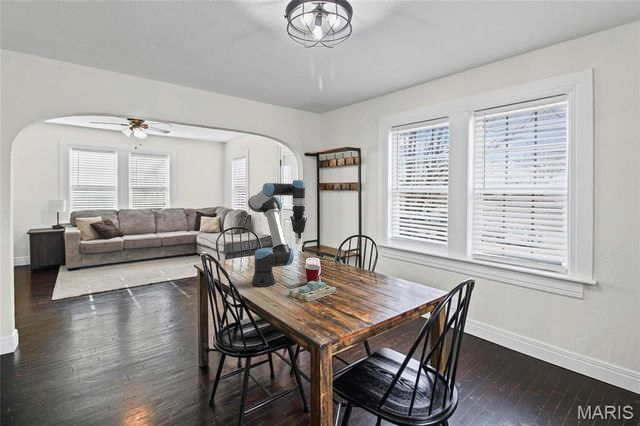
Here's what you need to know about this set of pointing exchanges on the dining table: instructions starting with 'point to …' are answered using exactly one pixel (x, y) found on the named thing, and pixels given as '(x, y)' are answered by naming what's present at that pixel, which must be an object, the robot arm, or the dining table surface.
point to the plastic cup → (312, 272)
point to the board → (312, 293)
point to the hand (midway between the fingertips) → (298, 243)
